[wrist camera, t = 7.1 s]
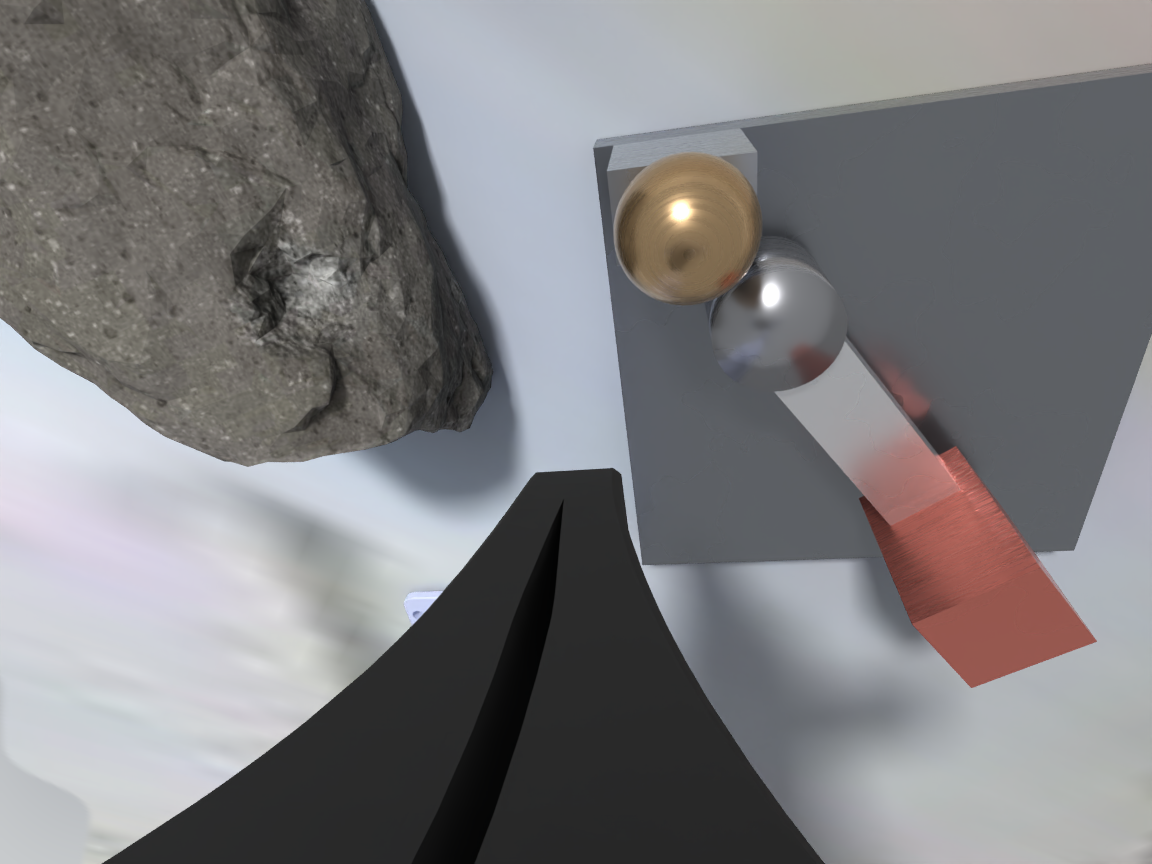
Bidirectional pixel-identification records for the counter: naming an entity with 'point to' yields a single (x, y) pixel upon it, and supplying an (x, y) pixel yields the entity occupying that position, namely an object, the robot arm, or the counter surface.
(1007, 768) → the counter surface
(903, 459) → the lever
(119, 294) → the stone
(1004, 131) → the base
